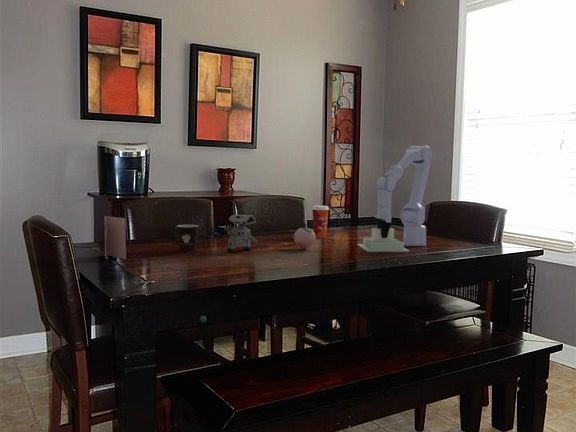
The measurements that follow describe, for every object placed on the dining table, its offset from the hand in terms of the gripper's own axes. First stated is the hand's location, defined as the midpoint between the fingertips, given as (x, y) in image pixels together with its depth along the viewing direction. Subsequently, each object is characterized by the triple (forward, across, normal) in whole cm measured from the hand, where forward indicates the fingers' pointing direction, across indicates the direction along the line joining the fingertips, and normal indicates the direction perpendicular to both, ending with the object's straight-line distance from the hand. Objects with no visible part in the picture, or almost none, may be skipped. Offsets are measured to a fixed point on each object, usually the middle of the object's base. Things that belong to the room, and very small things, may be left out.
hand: (383, 237), depth 234 cm
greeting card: (+5, +23, -107) cm, 110 cm away
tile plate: (+4, 0, 0) cm, 4 cm away
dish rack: (+5, 0, 0) cm, 5 cm away
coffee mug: (+5, +6, -83) cm, 83 cm away
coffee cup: (+5, -32, -22) cm, 39 cm away
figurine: (+5, +9, -60) cm, 61 cm away
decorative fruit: (+5, +3, -34) cm, 34 cm away
